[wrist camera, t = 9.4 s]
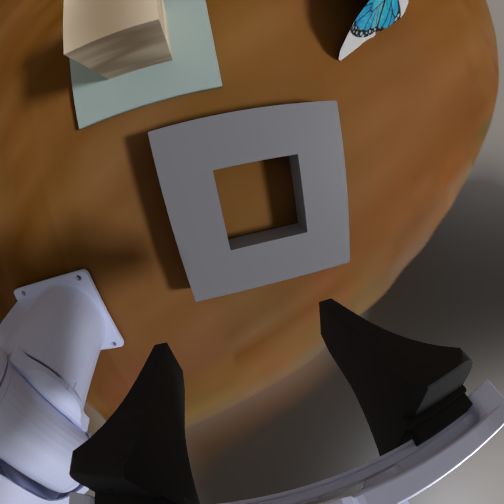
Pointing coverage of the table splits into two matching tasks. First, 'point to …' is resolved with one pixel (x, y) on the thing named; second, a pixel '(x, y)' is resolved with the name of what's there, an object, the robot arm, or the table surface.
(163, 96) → the rubber mat
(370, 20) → the decorative butterfly
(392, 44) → the table surface
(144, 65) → the maple block
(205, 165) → the pocket holder
